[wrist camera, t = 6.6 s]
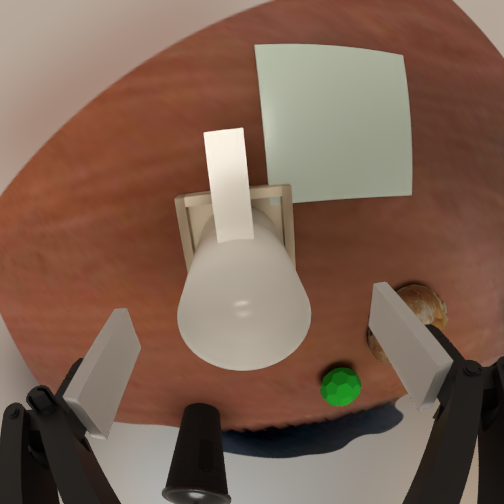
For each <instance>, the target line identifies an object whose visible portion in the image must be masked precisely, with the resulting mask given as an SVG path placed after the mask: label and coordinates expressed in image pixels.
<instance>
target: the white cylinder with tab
mask: <svg viewBox="0 0 504 504" xmlns="http://www.w3.org/2000/svg"><path fill="white" fill-rule="evenodd" d="M204 140H205V149H206V158H207V166H208V174H209V182H210V190H211V197H212V205H213V212H214V214H213V215H212V216H211V217H210V218H209V219H208V220H207V222H206V223H205V225H204V227H203V230H202V233H201V236H200V239H199V242H198V245H197V248H196V251H195V254H194V257H193V260H192V263H191V267H190V270H189V273H188V276H187V279H186V283H185V286H184V289H183V293H182V296H181V299H180V303H179V306H178V312H177V322H178V327H179V331H180V333H181V336H182V338H183V340H184V341H185V343H186V344H187V346H188V347H189V348H190V349H191V350H192V351H193V352H194V353H195V354H196V355H197V356H199V357H200V358H201V359H203V360H205V361H206V362H208V363H210V364H213V365H215V366H218V367H221V368H225V369H230V370H242V371H244V370H255V369H261V368H264V367H268V366H270V365H273V364H275V363H277V362H279V361H281V360H283V359H285V358H286V357H288V356H289V355H290V354H291V353H293V352H294V351H295V350H296V349H297V348H298V346H299V345H300V344H301V343H302V341H303V340H304V338H305V336H306V334H307V332H308V329H309V326H310V322H311V307H310V302H309V299H308V297H307V294H306V292H305V290H304V288H303V285H302V283H301V281H300V279H299V277H298V274H297V272H296V270H295V268H294V266H293V264H292V261H291V259H290V257H289V255H288V253H287V251H286V249H285V246H284V244H283V242H282V240H281V238H280V236H279V234H278V232H277V229H276V227H275V225H274V223H273V222H272V220H271V219H270V218H269V217H268V216H267V215H266V214H265V213H264V212H263V211H261V210H259V209H258V208H256V207H253V206H251V201H250V191H249V181H248V171H247V161H246V152H245V142H244V132H243V128H236V129H227V130H219V131H211V132H204Z"/></svg>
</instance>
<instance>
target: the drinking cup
mask: <svg viewBox="0 0 504 504" xmlns="http://www.w3.org/2000/svg"><path fill="white" fill-rule="evenodd" d="M162 496H163V497H164V498H165V499H166V500H168V501H170V502H172V503H174V504H230V503H231V497H230V495H228V488H227V480H226V472H225V464H224V456H223V446H222V436H221V426H220V416H219V412H218V410H217V409H216V408H214V407H212V406H210V405H207V404H192V405H189V406H187V407H186V408H185V410H184V414H183V418H182V422H181V426H180V430H179V434H178V438H177V442H176V446H175V450H174V454H173V458H172V462H171V466H170V471H169V474H168V479H167V483H166V487H165V488H164V489H163V491H162Z"/></svg>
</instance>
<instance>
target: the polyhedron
mask: <svg viewBox="0 0 504 504" xmlns="http://www.w3.org/2000/svg"><path fill="white" fill-rule="evenodd" d="M360 389H361V382H360V379H359V376H358V375H357V373H356V372H354V371H353V370H351V369H350V368H335V369H333V370H332V371H330V372H329V373H328V374H327V375H326V376H325V377H324V378H323V381H322V385H321V389H320V391H321V395H322V398H323V399H324V400H325V401H327V402H328V403H329V404H330V405H332V406H347V405H348V404H349V403H350V402H352V401H353V400H354V399H355V398H357V397H358V396H359V393H360Z"/></svg>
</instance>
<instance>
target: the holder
mask: <svg viewBox="0 0 504 504" xmlns="http://www.w3.org/2000/svg"><path fill="white" fill-rule="evenodd" d="M249 191H250V201H251V206H253V207H256V208H258V209H259V210H261V211H263V212H264V213H265V214H266V215H267V216H268V217H269V218H270V219H271V220H272V222H273V223H274V225H275V227H276V229H277V232H278V234H279V236H280V238H281V240H282V242H283V244H284V246H285V249H286V251H287V253H288V255H289V257H290V259H291V261H292V264H293V266H294V268H295V270H296V265H295V241H294V221H293V204H292V188H291V185H290V184H278V185H268V184H266V185H256V186H249ZM279 196H280V199H281V204H277V205H270V197H279ZM174 200H175V206H176V212H177V218H178V224H179V230H180V235H181V241H182V246H183V251H184V257H185V262H186V267H187V272H188V273H189V270H190V267H191V263H192V260H193V257H194V254H195V251H196V248H197V245H198V242H199V239H200V236H201V233H202V230H203V227H204V225H205V223H206V222H207V220H208V219H209V218H210V217H211V216H212V215H213V214H214V212H213V205H212V197H211V191H204V192H196V193H189V194H182V195H178V196H177V197H176V198H175V199H174Z"/></svg>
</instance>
